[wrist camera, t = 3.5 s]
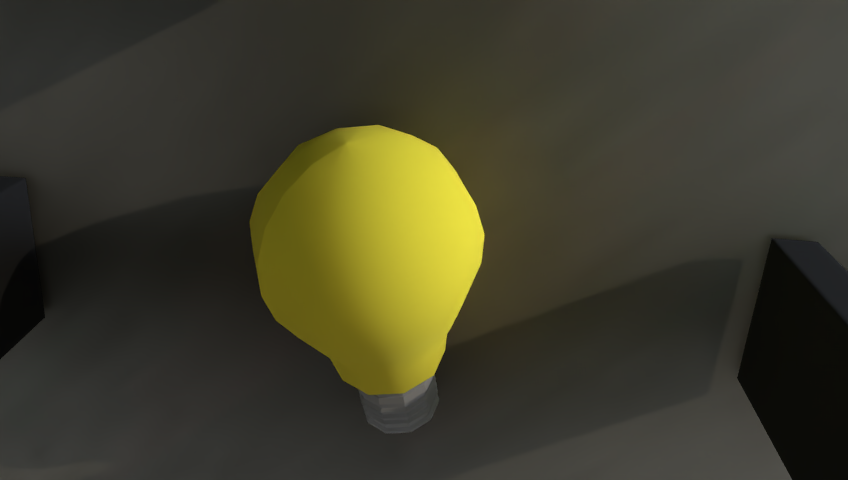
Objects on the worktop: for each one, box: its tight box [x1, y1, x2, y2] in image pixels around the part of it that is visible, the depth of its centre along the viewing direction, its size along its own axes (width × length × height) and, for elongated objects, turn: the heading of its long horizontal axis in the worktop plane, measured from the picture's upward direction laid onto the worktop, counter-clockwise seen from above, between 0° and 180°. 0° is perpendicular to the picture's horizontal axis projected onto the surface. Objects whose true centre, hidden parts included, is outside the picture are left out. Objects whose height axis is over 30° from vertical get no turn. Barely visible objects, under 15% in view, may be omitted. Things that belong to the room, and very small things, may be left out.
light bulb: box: [249, 125, 485, 434], centre depth 13 cm, size 3×6×4 cm, turn 6°
